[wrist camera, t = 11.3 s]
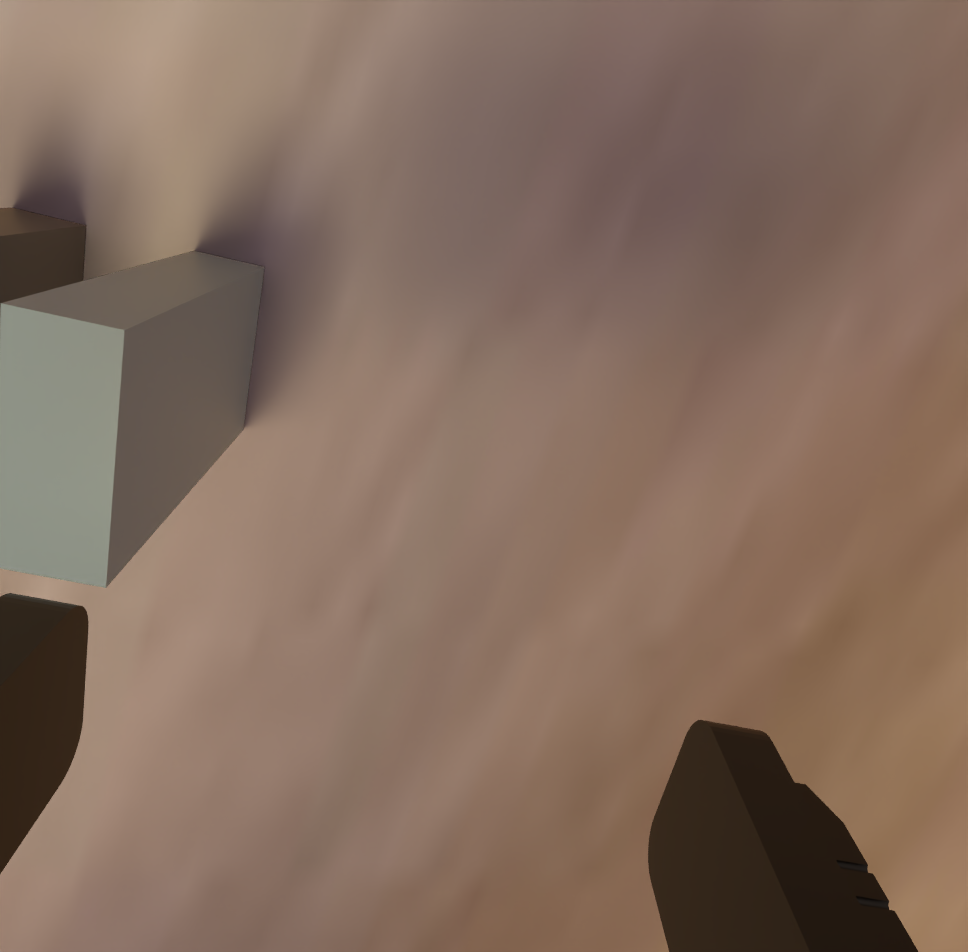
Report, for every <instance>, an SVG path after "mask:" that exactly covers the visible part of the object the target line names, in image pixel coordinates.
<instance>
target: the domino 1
mask: <svg viewBox="0 0 968 952" xmlns="http://www.w3.org/2000/svg"><path fill="white" fill-rule="evenodd" d="M85 237H86V225H83V224H78V223H74V222H70V221H66V220H62V219H58V218H53V217H49V216H45V215H41V214H37V213H33V212H28V211H24V210H20V209H16V208H0V316H1V303H3V302H7V301H11V300H14V299H18V298H22V297H25V296H29V295H33V294H37V293H40V292H44V291H48V290H51V289H55V288H59V287H62V286H66V285H70V284H73V283H77V282H81V281H83V269H84V253H85Z"/></svg>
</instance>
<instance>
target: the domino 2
mask: <svg viewBox="0 0 968 952" xmlns="http://www.w3.org/2000/svg"><path fill="white" fill-rule="evenodd" d="M264 268H265V267H263V266H258V265H254V264H250V263H245V262H241V261H237V260H232V259H228V258H224V257H219V256H215V255H210V254H206V253H202V252H197V251H191V252H188V253H184V254H180V255H177V256H173V257H169V258H166V259H162V260H158V261H154V262H151V263H147V264H143V265H140V266H136V267H132V268H129V269H125V270H121V271H118V272H114V273H110V274H107V275H103V276H99V277H95V278H92V279H88V280H84V281H81V282H77V283H73V284H70V285H66V286H62V287H59V288H55V289H51V290H48V291H44V292H40V293H37V294H33V295H29V296H25V297H22V298H18V299H14V300H11V301H7V302H3V303H1V316H0V568H1V569H6V570H12V571H17V572H22V573H28V574H33V575H39V576H44V577H50V578H55V579H61V580H66V581H72V582H77V583H83V584H88V585H93V586H99V587H104V588H106V587H107V586H108V585H109V584H110V583H111V581H112V580H113V579H114V578H115V577H116V576H117V575H118V573H119V572H120V571H121V570H122V569H123V568H124V566H125V565H126V564H127V563H128V562H129V561H130V560H131V558H132V557H133V556H134V555H135V554H136V553H137V552H138V550H139V549H140V548H141V547H142V546H143V545H144V543H145V542H146V541H147V540H148V539H149V538H150V537H151V535H152V534H153V533H154V532H155V531H156V530H157V528H158V527H159V526H160V525H161V524H162V523H163V522H164V520H165V519H166V518H167V517H168V516H169V515H170V514H171V512H172V511H173V510H174V509H175V508H176V507H177V505H178V504H179V503H180V502H181V501H182V500H183V499H184V497H185V496H186V495H187V494H188V493H189V492H190V490H191V489H192V488H193V487H194V486H195V485H196V484H197V482H198V481H199V480H200V479H201V478H202V477H203V476H204V474H205V473H206V472H207V471H208V470H209V469H210V467H211V466H212V465H213V464H214V463H215V462H216V461H217V459H218V458H219V457H220V456H221V455H222V454H223V452H224V451H225V450H226V449H227V448H228V447H229V446H230V444H231V443H232V442H233V441H234V440H235V439H236V438H237V436H238V435H239V434H240V433H241V432H242V431H243V429H244V421H245V414H246V406H247V398H248V391H249V383H250V375H251V368H252V360H253V353H254V345H255V337H256V330H257V322H258V314H259V307H260V299H261V291H262V284H263V276H264Z"/></svg>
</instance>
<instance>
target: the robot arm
mask: <svg viewBox="0 0 968 952" xmlns="http://www.w3.org/2000/svg"><path fill="white" fill-rule="evenodd" d="M87 641H88V615H87V612H86V610H85V608H84V607H83V606H79V605H73V604H68V603H62V602H57V601H51V600H45V599H40V598H34V597H29V596H23V595H18V594H12V593H8V594H5V595H3V596H1V597H0V874H1V872H2V871H3V869H4V868H5V866H6V865H7V863H8V862H9V860H10V859H11V857H12V856H13V854H14V853H15V851H16V850H17V848H18V847H19V845H20V844H21V842H22V841H23V839H24V838H25V836H26V835H27V833H28V832H29V830H30V829H31V827H32V826H33V824H34V823H35V821H36V820H37V819H38V817H39V816H40V814H41V813H42V811H43V810H44V808H45V807H46V805H47V804H48V802H49V801H50V799H51V798H52V796H53V795H54V793H55V792H56V790H57V789H58V787H59V786H60V784H61V782H62V781H63V779H64V777H65V775H66V774H67V772H68V769H69V767H70V765H71V763H72V760H73V758H74V755H75V752H76V749H77V746H78V743H79V739H80V735H81V729H82V723H83V708H84V691H85V674H86V658H87ZM648 863H649V873H650V879H651V883H652V887H653V891H654V895H655V898H656V902H657V906H658V910H659V914H660V918H661V921H662V925H663V929H664V933H665V937H666V941H667V944H668V948H669V952H918V950H917V949H916V947H915V945H914V943H913V942H912V940H911V938H910V937H909V935H908V933H907V931H906V930H905V928H904V926H903V925H902V923H901V921H900V919H899V918H898V916H897V914H896V913H895V911H892V910H889V907H888V903H889V900H888V899H887V897H886V895H885V894H884V892H883V890H882V888H881V887H880V885H879V883H878V882H877V880H876V878H875V876H874V875H873V874H872V873H868V871H867V866H868V864H867V863H866V861H865V859H864V857H863V856H862V854H861V852H860V851H859V849H858V847H857V845H856V844H855V842H854V840H853V839H852V837H851V835H850V833H849V832H848V830H847V828H846V827H845V825H844V823H843V822H842V821H841V820H840V819H839V818H838V817H837V816H836V815H835V814H834V813H833V812H832V811H831V810H830V809H829V808H828V807H827V806H826V805H825V804H824V803H823V802H822V801H821V800H820V799H819V798H818V797H817V796H816V795H815V794H814V792H813V791H812V790H811V789H810V788H809V787H808V786H807V785H805V784H800V783H794V781H793V779H792V777H791V776H790V774H789V772H788V770H787V768H786V766H785V764H784V763H783V761H782V759H781V757H780V755H779V753H778V751H777V750H776V748H775V746H774V744H773V742H772V741H771V739H770V737H769V736H768V735H767V734H766V733H764V732H763V731H759V730H754V729H748V728H742V727H737V726H731V725H726V724H720V723H715V722H709V721H704V720H698V721H696V722H695V723H694V724H693V725H692V726H691V727H690V729H689V730H688V732H687V735H686V737H685V739H684V742H683V745H682V747H681V750H680V752H679V755H678V757H677V760H676V762H675V765H674V768H673V770H672V773H671V775H670V778H669V780H668V783H667V786H666V788H665V791H664V793H663V796H662V798H661V801H660V804H659V806H658V809H657V811H656V814H655V816H654V819H653V822H652V826H651V831H650V837H649V847H648Z"/></svg>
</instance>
